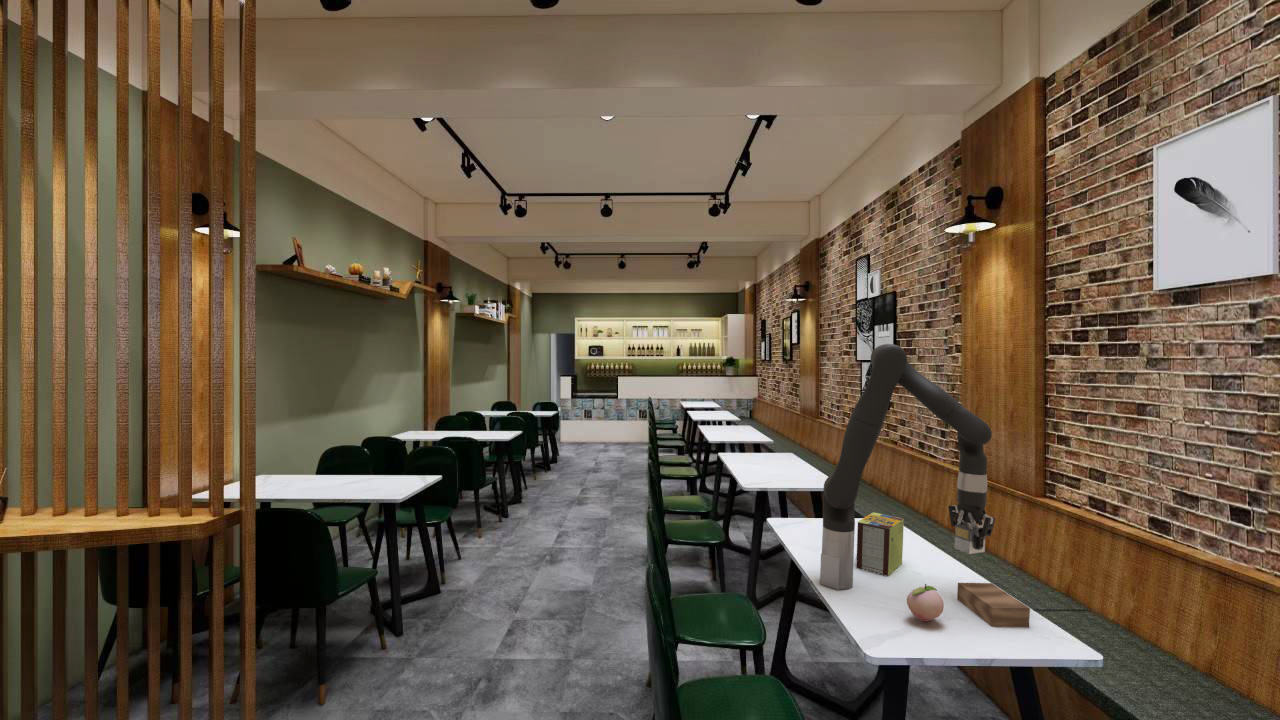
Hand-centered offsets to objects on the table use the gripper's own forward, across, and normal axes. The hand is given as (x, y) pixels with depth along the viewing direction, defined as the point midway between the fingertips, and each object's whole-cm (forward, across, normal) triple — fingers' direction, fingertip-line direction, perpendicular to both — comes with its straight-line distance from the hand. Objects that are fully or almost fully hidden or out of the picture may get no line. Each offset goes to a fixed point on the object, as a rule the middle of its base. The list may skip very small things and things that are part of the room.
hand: (969, 545), depth 170 cm
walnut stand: (+15, +9, -2) cm, 18 cm away
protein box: (+16, -28, -7) cm, 33 cm away
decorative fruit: (+16, +8, -24) cm, 30 cm away
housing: (+1, 0, 0) cm, 1 cm away
